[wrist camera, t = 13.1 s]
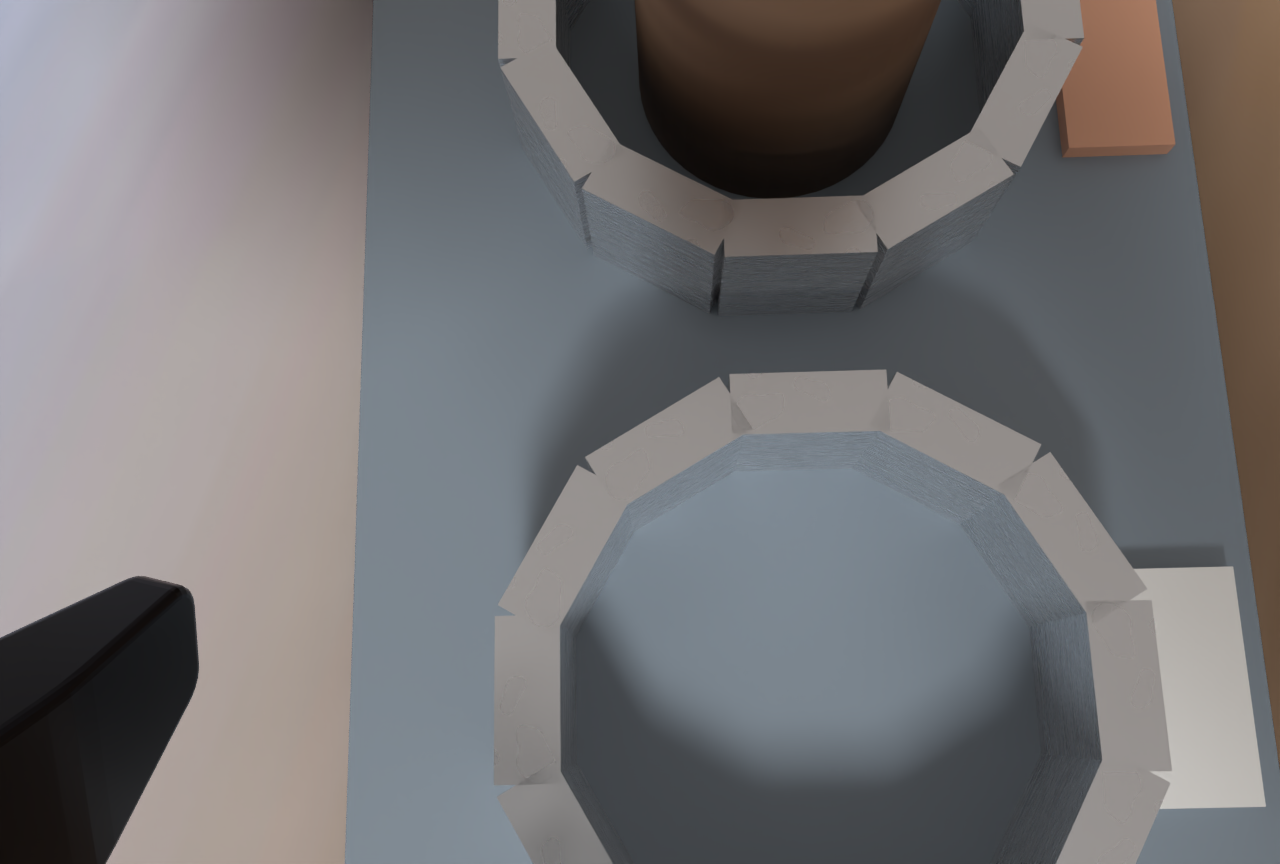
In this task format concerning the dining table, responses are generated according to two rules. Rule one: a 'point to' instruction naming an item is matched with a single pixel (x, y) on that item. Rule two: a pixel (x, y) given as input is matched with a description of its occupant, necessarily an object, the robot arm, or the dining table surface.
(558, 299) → the socket board
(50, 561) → the dining table surface
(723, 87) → the walnut peg
